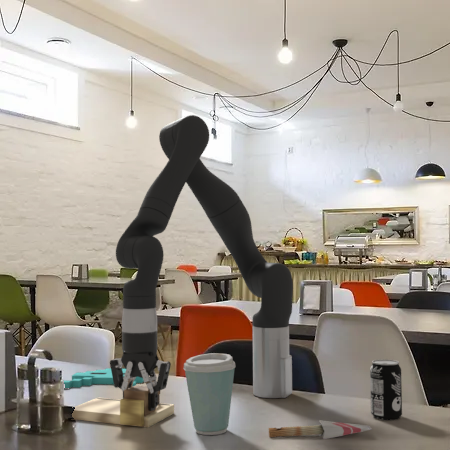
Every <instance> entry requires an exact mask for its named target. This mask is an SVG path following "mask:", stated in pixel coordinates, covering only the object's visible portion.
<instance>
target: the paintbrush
mask: <svg viewBox="0 0 450 450" xmlns="http://www.w3.org/2000/svg"><path fill="white" fill-rule="evenodd" d="M318 421H319V423H320V424H315V425H303V426H301V425H300V426H299V425H298V426H297V425H296V426H284V427H279V428H277V427H268V437H269V438H278V437H281V438H282V437H283V438H284V437H285V438H286V437H296V436H297V437H300V436H301V437H302V436H315V435H317V436H318V435H319V436H321V438H322V439H324V440H326V439H332V438H337V437H342V436H347V435H352V434H357V433H362V432H366V431H370V430H371V431H372V428H371V426H370V425H366V424H358V423H357V424H356V423H347V422H338V421H327V420H320V419H318Z"/></svg>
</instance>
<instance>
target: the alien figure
mask: <svg viewBox="0 0 450 450" xmlns="http://www.w3.org/2000/svg"><path fill="white" fill-rule="evenodd" d="M122 371H123V376H124V375H125V372H126V369H125V368H122ZM62 381H64V384H65V388H70V387H71V388H81V387H82V386H84V387H85V386H89V387H90V386H92V385H114V382H113V377H112V372H111V367H110V368H107V367H106V368H104V369H96V370H87V371H85V372H75V373H74V374H72V375H71V380H65V379H64V380H62ZM142 383H144V380H143V378H140V377H138V376H137V377H136V378H135V380H134V382H133V385H132V387H133V386H135V385H137V384H142ZM71 388H70V389H71Z"/></svg>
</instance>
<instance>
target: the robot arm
mask: <svg viewBox="0 0 450 450" xmlns="http://www.w3.org/2000/svg"><path fill="white" fill-rule="evenodd" d="M158 136H159V139H158V140H159V144H160V147H161V149H162V151H163V153H164V155H165V156H166V157H167V159H168V161H167V162H166V164H165V166H164V167H163V169H162V170H161V171H160V173H159V174H158V175H157V177H155V179H154V180H153V182H152V183H151V184H150V187H149V188H148V190H147V192H146V193H145V196H144V197H143V200H142V203H141V204H140V208H139V210H138V212H137V215H136V216H135V218H134V219H133V220H132V221H131V222H130V224H129V225H128V227H127V228H126V229H125V231H123V234H122V235H121V236H120V238H119V239H118V240H117V244H116V248H115V257H116V259H115V260H116V261H117V263H118V265H120V266H121V267H122V268H124V269H129V270H130V269H131V270H133V269H134V270H135V269H136V270H137V272H136V275H135V277H134V279H131V280H128V281H126V282H125V283H124V285H123V288H122V300H123V302H122V304H123V305H122V307H123V309H122V316H121V350H122V356H121V357H120V358H119V357H118V358H114V359H112V360H110V361H109V366H110V368H111V372H112V377H113V382H114V384H113V387H114V388H116V389H117V388H118V389H121V391H122V399H124V390H125V389H128V388H130V387H132V385H133V382H134V380H135V378H136V377H137V376H138V377H140V378H143V380H144V381H143V383H144V384H145V386H147V388H148V391H149V393H148V410H149V411H153V410H155V408H156V407H157V405H158V391H160V392H161V391H162V390H164V389H166V388H167V384H168V379H169V375H170V372H171V371H170V369H171V367H172V366H171V364H172V363H171V362H170V361H168V360H167V361H163V360H159V357H158V356H159V355H158V312H157V285H158V282H159V278H160V274H161V270H162V266H163V262H164V249H163V248H164V247H163V245H162V243H161V241H160V240H159V239H158V238H157V237H155V236H157V235H159V234H162V233H163V232H164V231H165V230H166V229H167V227H168V225H169V223H170V220H171V216H172V214H173V212H174V210H175V206H176V203H177V201H178V199H179V197H180V194H181V192H182V190H183V188H184V186H185V184H187V186H188V187H189V189H190V190H191V192H192V194H193V195H194V196H195V198H196V200H197V201H198V203H199V205H200V206H201V207H202V209H203V212H204V213H205V214H206V217H207V218H208V220H209V221H210V223H211V225H212V226H213V228H214V229H215V231H216V232H217V234H218V235H219V238H220V239H221V240H222V242H223V244H224V246H225V247H226V249H227V250H228V252H229V254H230V256H231V257H232V259H233V260H234V262H235V264H236V266H237V268H238V271H239V272H240V274H241V277H242V279H243V282H244V283H245V284H246V287H247V288H248V290H249V291H250V293H251V294H252V295H254V296H255V297H257V298H261V300H260V302H261V303H260V309H259V310H258V311H257V312H255V313H254V314H253V316H252V390H253V391H252V392H253V393H252V394H253V395H254V396H256V397H259V398H264V399H265V398H267V399H278V398H279V399H280V398H284V399H286V398H287V397H289V396H290V395H291V394H292V393H293V365H292V364H293V360H292V358H293V357H292V355H291V354H290V318H291V316H292V313H293V297H294V296H293V294H294V293H293V292H294V290H293V289H294V287H293V286H294V282H293V277H292V272H291V271H290V268H289V267H288V266H286V265H285V264H284V263H281V262H268V261H267V260H266V258H265V257H264V256H263V254H262V253H261V251H260V250H259V248H258V246H257V244H256V242H255V240H254V235H253V228H252V220H251V217H250V214H249V212H248V209H247V208H246V207H245V204H244V203H243V201H242V199H241V198H240V196H239V195H238V192H236V190H235V189H233V187H231V186H230V185H229V184H227V183H226V182H225V181H223V180H222V179H221V178H220V177H219V176H216V175H215V174H214V173H212V172H211V171H210V170H209V169H208V168H207V167H206V165H205V164H204V162H203V161H202V159H201V156H202V155H203V153H204V151H206V148H207V146H208V144H209V142H210V130H209V126H208V124H207V123H206V122H205V120H204V119H203V118H201V117H200V116H198V115H192V114H190V115H186V116H182V117H180V118H178V119H177V120H176V119H175V120H174V121H172V122H169V123H168V124H166V125H164V126H163V127H162V128H161V130H160V131H159V135H158ZM123 367H124V369H126V372H125V375H124V376H123V371H122V369H123ZM156 368H157V371H158V377H157V374H156V371H155V369H156Z"/></svg>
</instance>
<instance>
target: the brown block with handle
mask: <svg viewBox="0 0 450 450" xmlns="http://www.w3.org/2000/svg"><path fill="white" fill-rule="evenodd" d="M148 393H149V391H148V388H147V385H138V384H136V385H135V386H133V387H130V388H128V389H125V390H124V399H123V398H121V400H120V424H119V425H121V424H124V425H123V426H131V425H134V426H133V427H140V426H143V425H144V416H146V415H148V414H150V413H152V412H154V411H156V408H155V410H153V411H149V410H148ZM160 396H161V390H160V391H158V404H159V403H161V402H160Z"/></svg>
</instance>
